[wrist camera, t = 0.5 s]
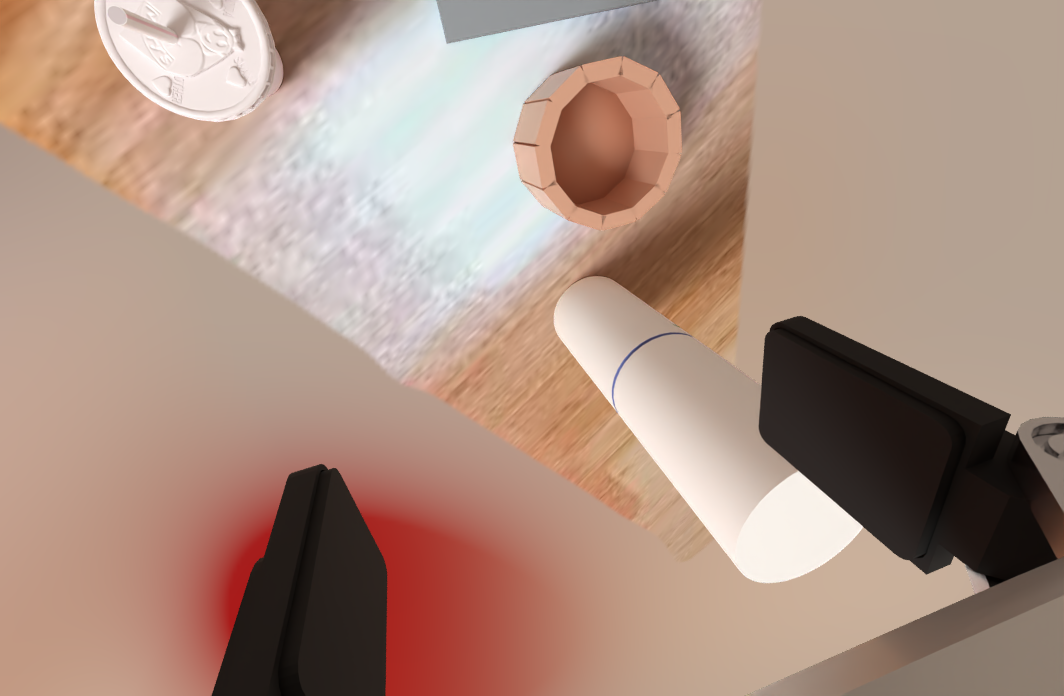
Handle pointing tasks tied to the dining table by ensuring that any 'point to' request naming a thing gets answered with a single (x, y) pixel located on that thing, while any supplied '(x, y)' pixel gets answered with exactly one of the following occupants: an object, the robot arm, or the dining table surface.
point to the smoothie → (193, 53)
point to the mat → (514, 14)
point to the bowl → (599, 142)
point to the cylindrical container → (702, 432)
